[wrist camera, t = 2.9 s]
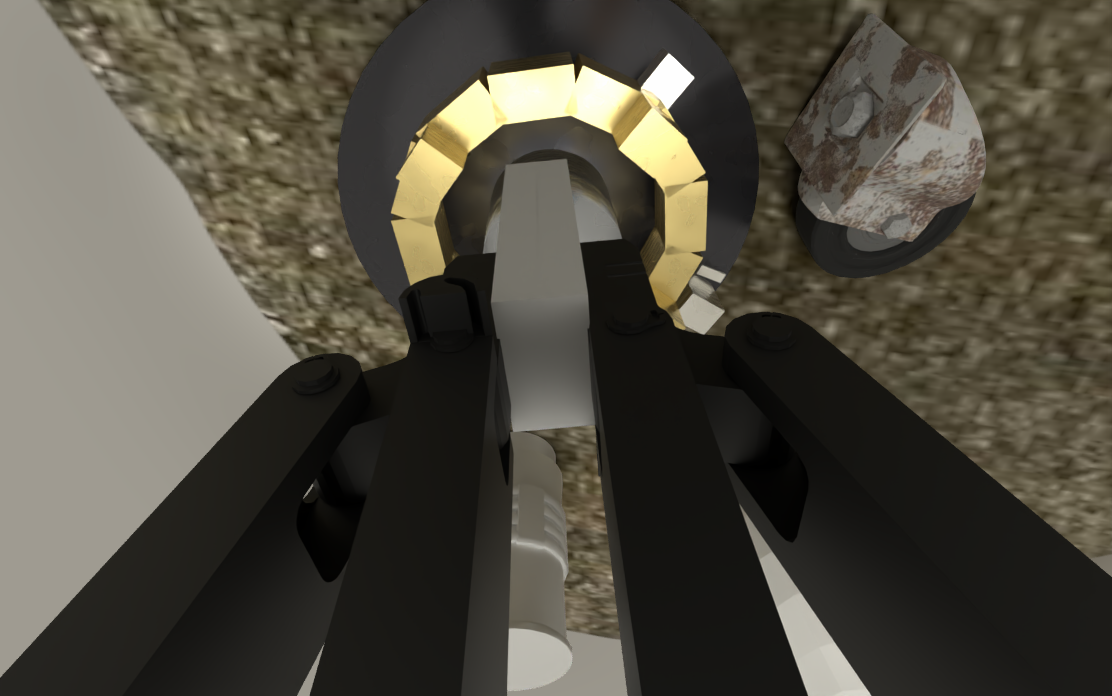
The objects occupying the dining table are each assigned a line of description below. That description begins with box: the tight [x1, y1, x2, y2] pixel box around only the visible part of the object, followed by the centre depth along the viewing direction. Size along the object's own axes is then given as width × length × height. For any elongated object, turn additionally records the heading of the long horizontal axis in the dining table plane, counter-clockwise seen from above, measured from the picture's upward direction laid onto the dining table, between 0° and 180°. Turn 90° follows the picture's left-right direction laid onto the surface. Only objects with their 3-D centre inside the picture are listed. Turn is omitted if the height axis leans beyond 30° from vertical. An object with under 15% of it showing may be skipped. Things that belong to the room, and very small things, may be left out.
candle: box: [507, 432, 572, 691], centre depth 38 cm, size 7×7×15 cm
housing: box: [338, 0, 759, 334], centre depth 30 cm, size 22×22×8 cm
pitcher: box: [739, 504, 871, 696], centre depth 37 cm, size 19×18×25 cm
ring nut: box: [391, 48, 708, 330], centre depth 29 cm, size 15×15×6 cm
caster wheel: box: [784, 14, 986, 278], centre depth 30 cm, size 7×11×10 cm
